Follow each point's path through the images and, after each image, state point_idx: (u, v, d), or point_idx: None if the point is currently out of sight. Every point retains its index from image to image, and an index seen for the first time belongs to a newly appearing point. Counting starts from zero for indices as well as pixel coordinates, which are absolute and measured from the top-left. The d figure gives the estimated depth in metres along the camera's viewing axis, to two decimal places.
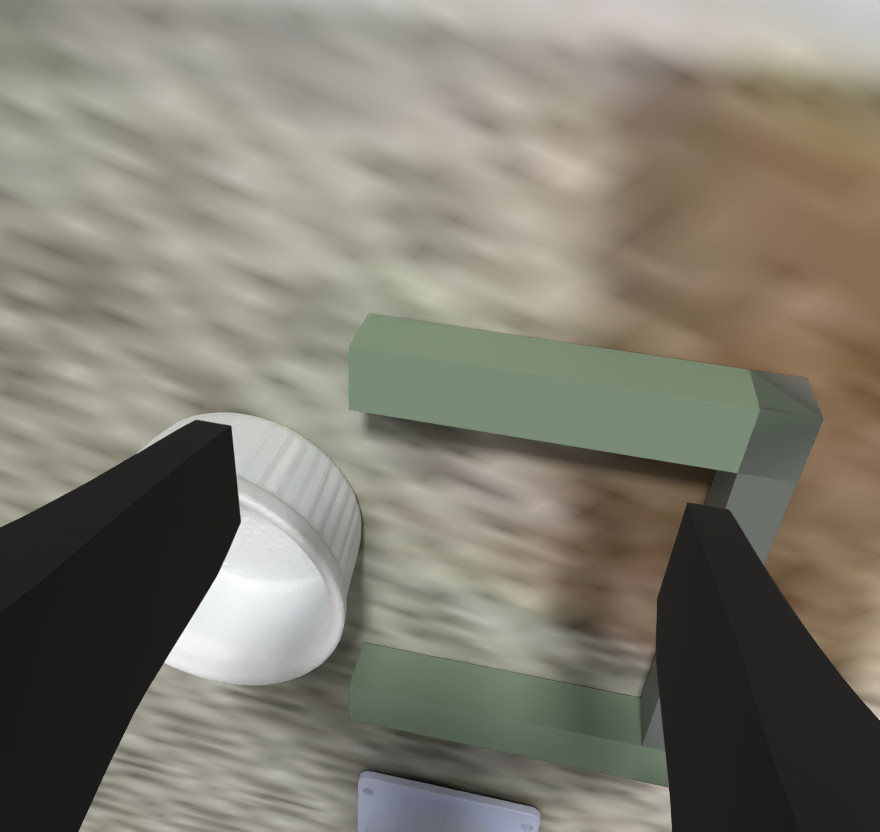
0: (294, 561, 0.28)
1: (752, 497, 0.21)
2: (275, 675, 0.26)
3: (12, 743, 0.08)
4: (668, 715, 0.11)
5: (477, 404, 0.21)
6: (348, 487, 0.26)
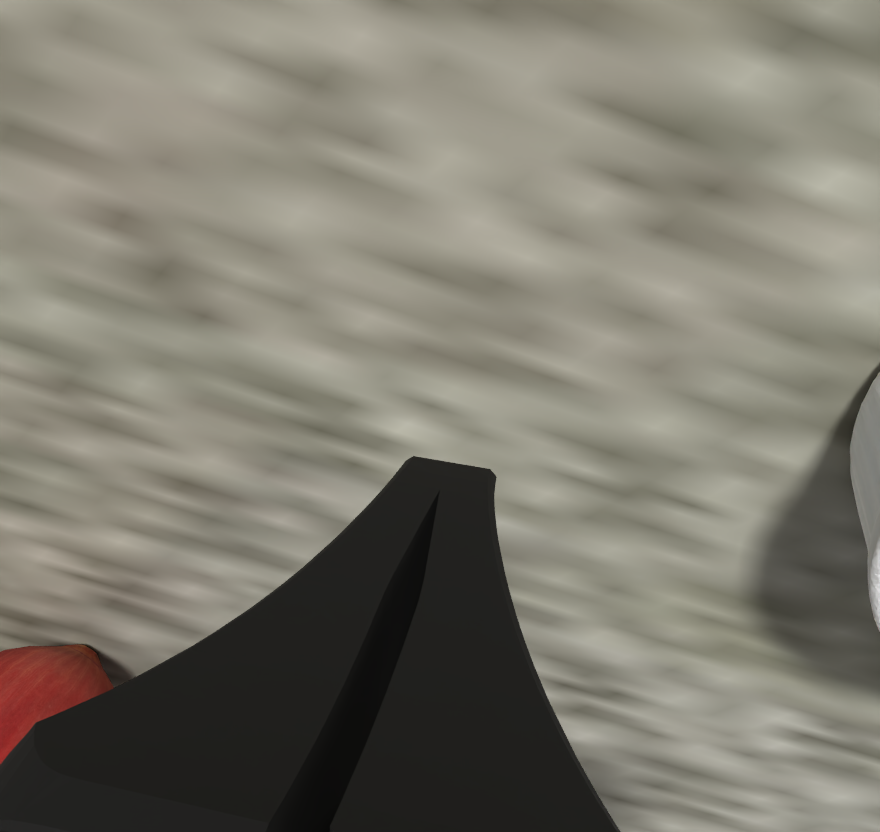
0: None
1: None
2: None
3: (333, 816, 0.08)
4: None
5: None
6: None
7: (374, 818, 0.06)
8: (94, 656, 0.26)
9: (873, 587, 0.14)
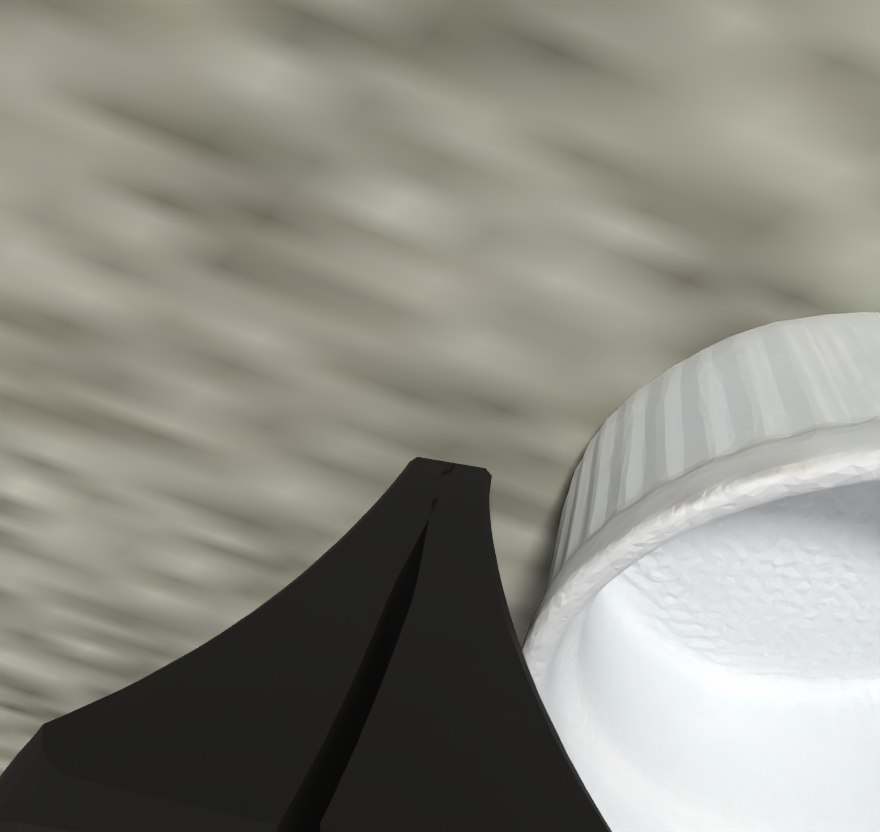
0: None
1: None
2: None
3: None
4: None
5: None
6: None
7: (364, 816, 0.06)
8: None
9: None
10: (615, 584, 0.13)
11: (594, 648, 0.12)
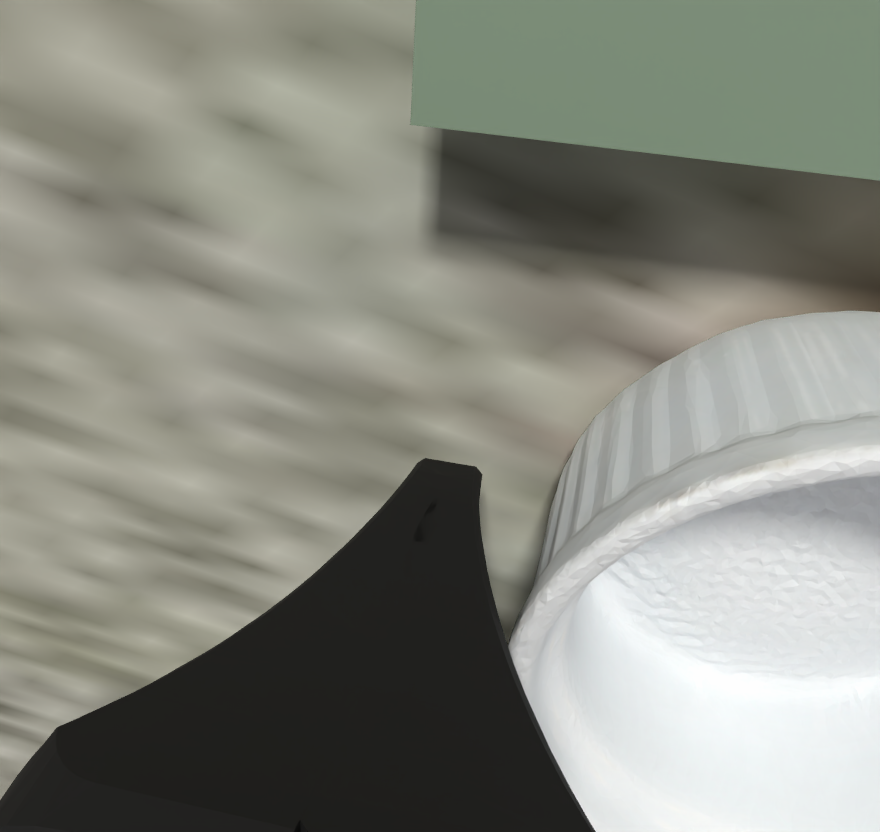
0: (869, 644, 0.13)
1: None
2: None
3: None
4: None
5: (760, 79, 0.08)
6: None
7: (345, 812, 0.06)
8: None
9: None
10: (604, 581, 0.14)
11: (582, 645, 0.12)
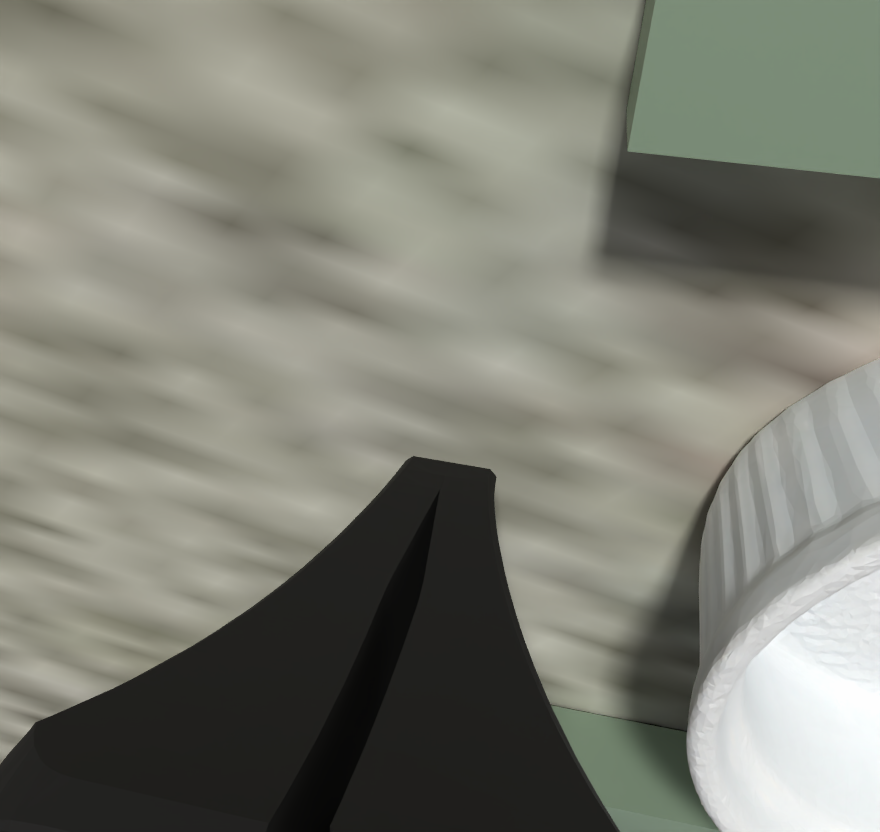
0: None
1: None
2: None
3: (333, 816, 0.08)
4: None
5: None
6: None
7: (372, 819, 0.06)
8: None
9: (692, 768, 0.11)
10: None
11: None
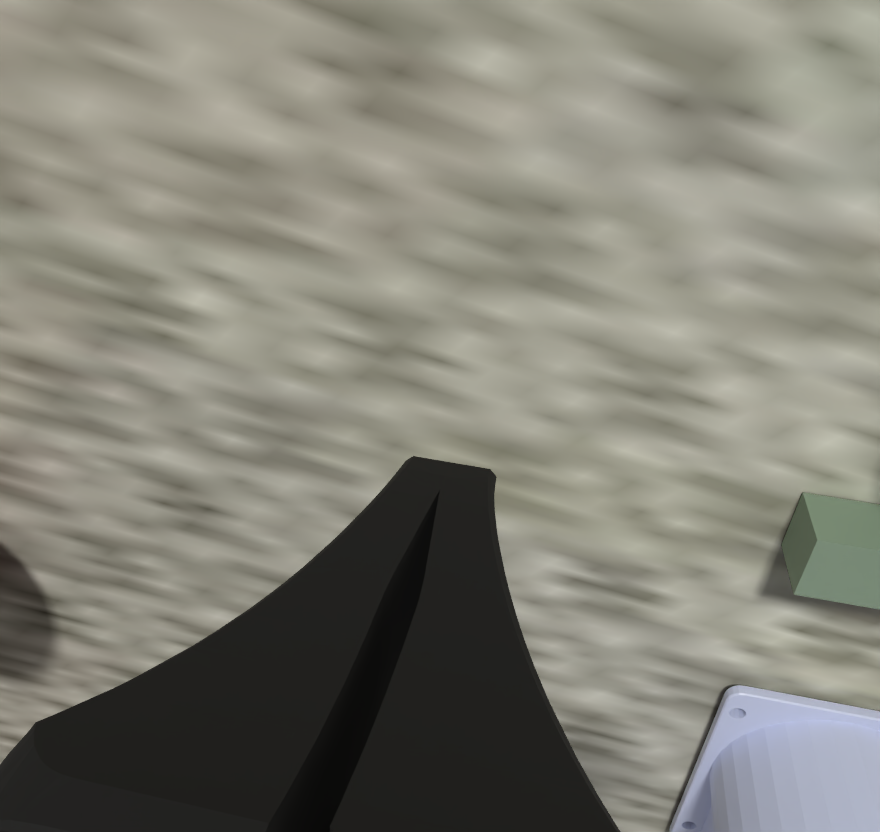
0: None
1: None
2: None
3: (333, 816, 0.08)
4: None
5: None
6: None
7: (374, 820, 0.06)
8: None
9: None
10: None
11: None
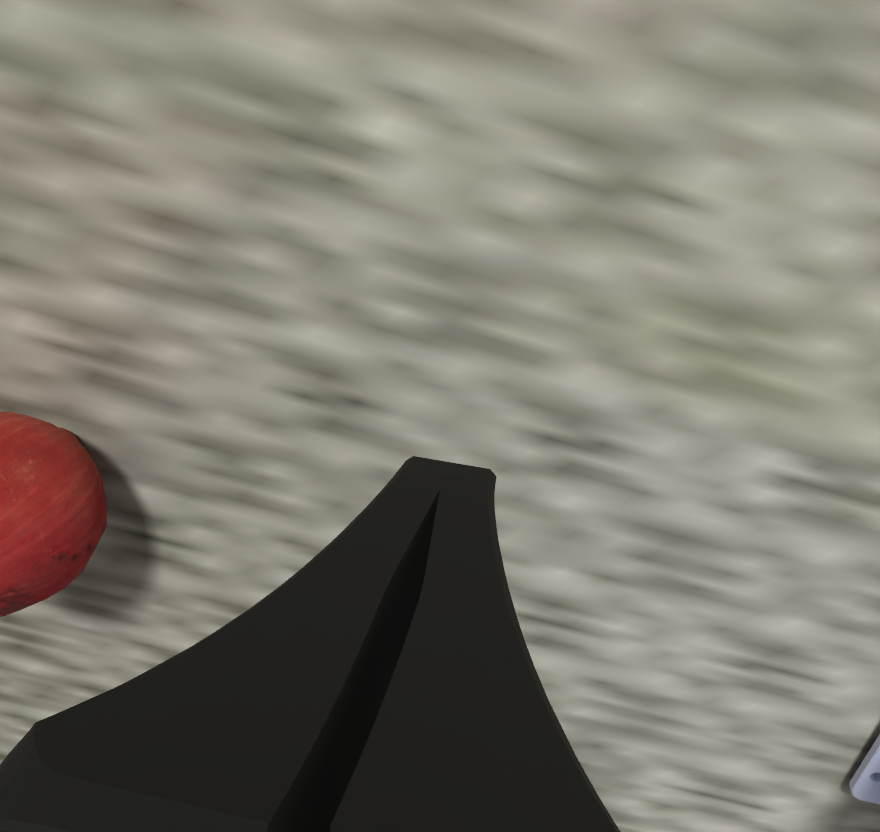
0: None
1: None
2: None
3: (333, 816, 0.08)
4: None
5: None
6: None
7: (374, 819, 0.06)
8: (75, 438, 0.26)
9: None
10: None
11: None
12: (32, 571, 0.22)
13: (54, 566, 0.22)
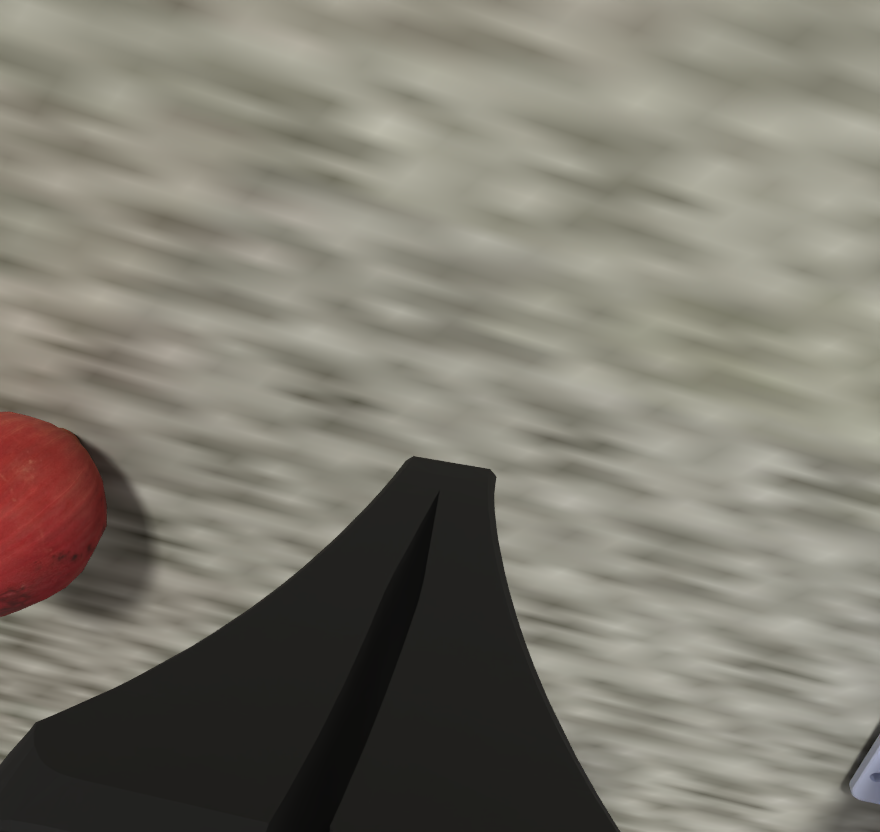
0: None
1: None
2: None
3: (333, 816, 0.08)
4: None
5: None
6: None
7: (374, 819, 0.06)
8: (75, 438, 0.26)
9: None
10: None
11: None
12: (32, 571, 0.22)
13: (54, 566, 0.22)
